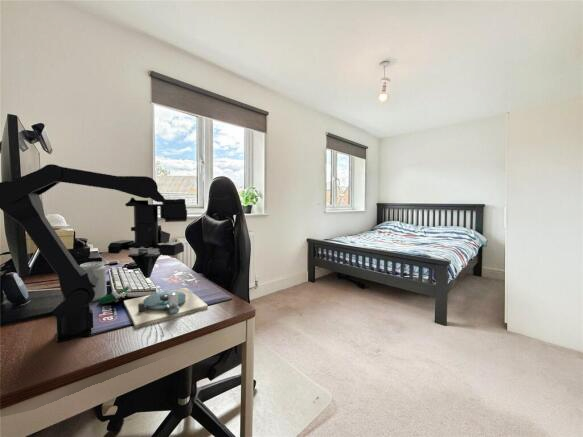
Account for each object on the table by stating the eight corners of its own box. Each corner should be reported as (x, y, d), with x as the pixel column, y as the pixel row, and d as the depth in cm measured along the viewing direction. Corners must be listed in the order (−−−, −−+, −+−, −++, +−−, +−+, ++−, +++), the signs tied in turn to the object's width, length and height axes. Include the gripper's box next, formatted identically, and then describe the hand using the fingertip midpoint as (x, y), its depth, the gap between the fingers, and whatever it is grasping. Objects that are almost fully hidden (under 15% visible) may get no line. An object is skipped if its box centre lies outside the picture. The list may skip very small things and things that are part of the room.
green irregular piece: (103, 310, 80) (113, 299, 79) (96, 301, 80) (106, 290, 79) (127, 299, 89) (137, 289, 88) (120, 291, 89) (130, 280, 88)
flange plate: (138, 298, 82) (138, 283, 81) (177, 290, 90) (177, 276, 89) (151, 318, 69) (151, 300, 68) (195, 307, 77) (195, 290, 76)
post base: (135, 328, 66) (135, 316, 66) (123, 303, 81) (123, 294, 81) (207, 308, 79) (207, 298, 79) (186, 290, 94) (186, 281, 94)
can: (102, 301, 82) (101, 265, 81) (74, 304, 80) (72, 267, 79) (109, 293, 89) (108, 260, 88) (83, 295, 87) (82, 261, 86)
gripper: (192, 221, 77) (192, 270, 78) (134, 219, 78) (135, 268, 79) (173, 224, 66) (173, 282, 67) (105, 222, 67) (107, 279, 68)
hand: (147, 277), depth 71 cm, fingers closed
